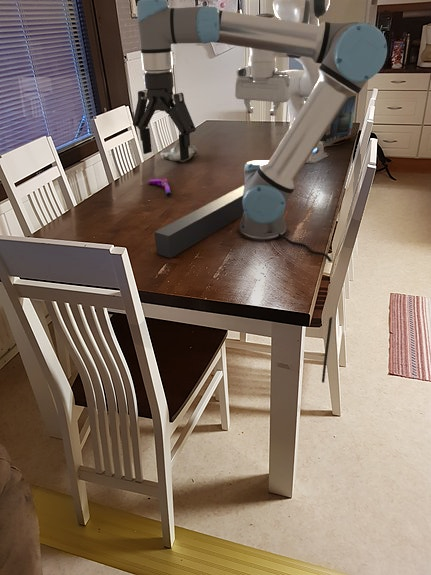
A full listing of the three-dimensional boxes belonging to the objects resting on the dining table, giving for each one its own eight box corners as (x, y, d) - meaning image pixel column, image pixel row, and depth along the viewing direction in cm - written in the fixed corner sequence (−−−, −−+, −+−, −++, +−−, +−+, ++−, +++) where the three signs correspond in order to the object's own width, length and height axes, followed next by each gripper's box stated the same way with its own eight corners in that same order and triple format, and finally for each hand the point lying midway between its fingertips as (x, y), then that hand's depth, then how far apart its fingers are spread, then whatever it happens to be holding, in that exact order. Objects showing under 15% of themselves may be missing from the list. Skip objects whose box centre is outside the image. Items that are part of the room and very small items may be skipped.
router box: (314, 151, 231) (318, 94, 217) (296, 148, 237) (299, 92, 224) (352, 138, 251) (358, 85, 238) (335, 135, 258) (340, 83, 245)
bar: (170, 258, 136) (168, 236, 132) (156, 253, 139) (154, 231, 135) (273, 196, 178) (274, 178, 174) (261, 193, 181) (261, 175, 177)
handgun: (149, 183, 197) (148, 178, 196) (167, 181, 198) (166, 176, 197) (152, 198, 180) (152, 194, 179) (172, 196, 181) (171, 191, 180)
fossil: (184, 156, 217) (163, 136, 220) (174, 174, 223) (154, 154, 227) (205, 153, 231) (186, 134, 234) (195, 171, 237) (176, 152, 240)
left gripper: (206, 71, 111) (210, 158, 122) (133, 68, 124) (142, 147, 135) (187, 74, 106) (192, 165, 117) (112, 71, 119) (124, 153, 130)
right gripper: (294, 70, 149) (292, 115, 156) (242, 68, 160) (242, 110, 167) (285, 72, 145) (283, 118, 152) (231, 70, 155) (232, 113, 163)
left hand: (165, 156), depth 126 cm, fingers open, 13 cm apart
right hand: (261, 114), depth 159 cm, fingers open, 8 cm apart
